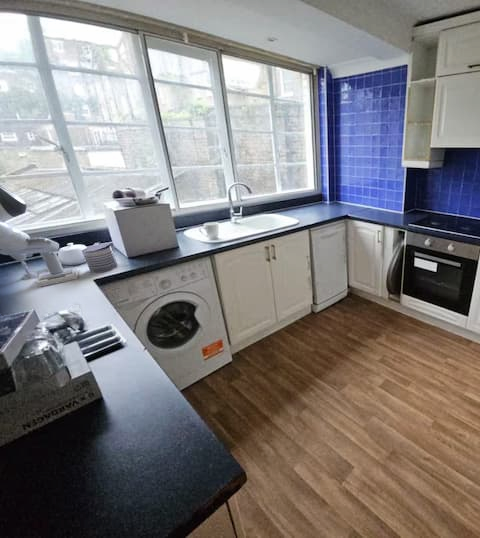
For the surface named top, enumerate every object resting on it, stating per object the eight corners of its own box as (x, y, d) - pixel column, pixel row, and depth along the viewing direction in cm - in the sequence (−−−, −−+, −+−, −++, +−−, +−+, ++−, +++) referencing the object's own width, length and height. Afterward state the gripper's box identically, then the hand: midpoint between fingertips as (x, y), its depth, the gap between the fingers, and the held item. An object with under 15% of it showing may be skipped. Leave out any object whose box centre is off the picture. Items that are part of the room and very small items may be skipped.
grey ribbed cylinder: (111, 271, 147) (102, 248, 142) (85, 274, 144) (75, 251, 140) (122, 263, 157) (114, 241, 152) (97, 265, 155) (88, 243, 150)
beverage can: (48, 275, 137) (36, 251, 132) (53, 271, 141) (41, 248, 136) (61, 273, 139) (50, 249, 134) (66, 269, 143) (55, 246, 138)
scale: (38, 287, 132) (35, 281, 131) (41, 278, 140) (39, 273, 139) (77, 278, 140) (74, 273, 139) (77, 271, 148) (75, 266, 147)
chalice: (41, 272, 147) (24, 238, 140) (41, 276, 143) (23, 241, 136) (20, 277, 143) (1, 242, 135) (19, 281, 138) (-1, 245, 131)
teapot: (51, 271, 149) (42, 251, 145) (52, 263, 158) (43, 245, 154) (106, 259, 162) (99, 241, 158) (104, 253, 172) (97, 235, 167)
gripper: (45, 231, 123) (70, 246, 136) (-14, 235, 120) (18, 250, 133) (41, 245, 121) (67, 258, 134) (-18, 249, 118) (14, 262, 130)
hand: (42, 254), depth 133 cm, fingers open, 8 cm apart
